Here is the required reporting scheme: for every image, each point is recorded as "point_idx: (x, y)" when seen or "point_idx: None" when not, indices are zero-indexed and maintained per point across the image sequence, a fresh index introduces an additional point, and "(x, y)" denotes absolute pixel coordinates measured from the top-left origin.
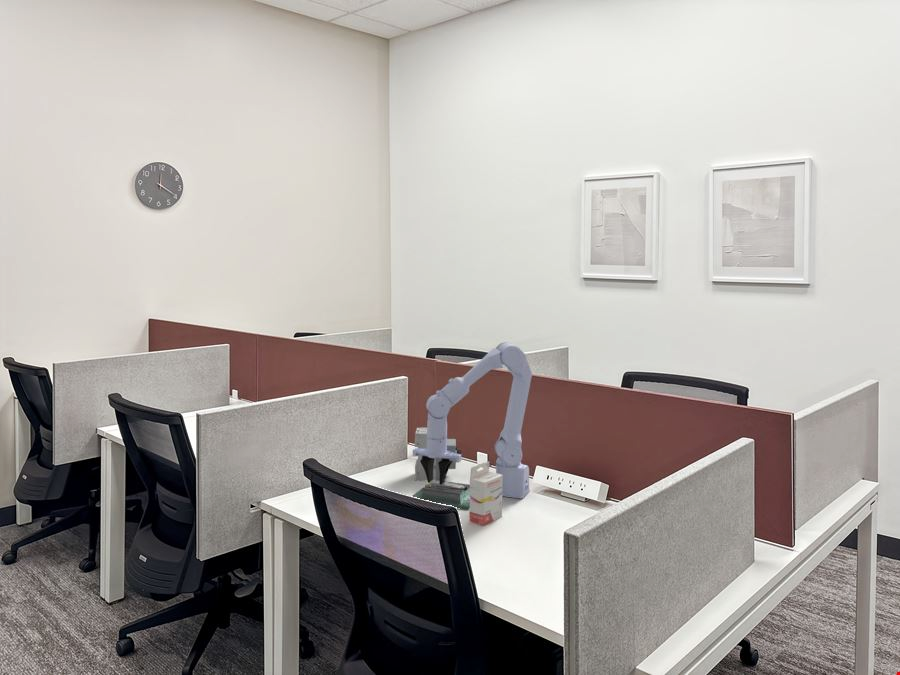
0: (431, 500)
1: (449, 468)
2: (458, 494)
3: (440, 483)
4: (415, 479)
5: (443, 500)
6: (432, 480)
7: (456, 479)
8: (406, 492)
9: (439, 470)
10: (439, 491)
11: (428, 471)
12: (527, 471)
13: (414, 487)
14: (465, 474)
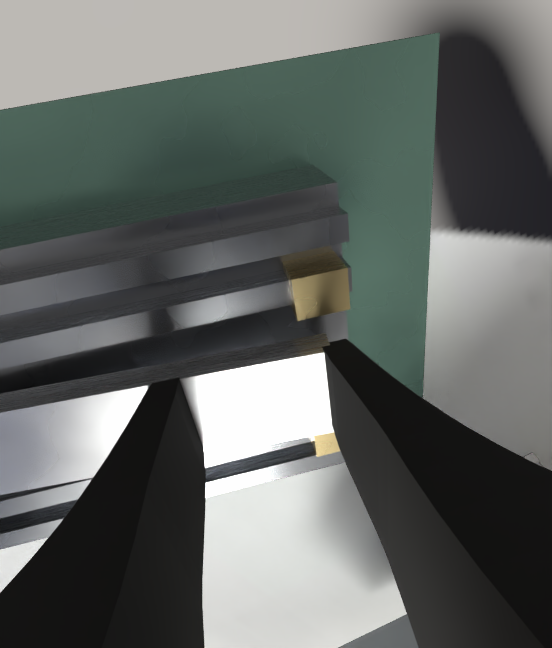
0: (149, 120)
1: (363, 640)
2: None
3: (163, 385)
4: (536, 460)
5: (30, 201)
6: (320, 404)
7: (311, 580)
8: (525, 254)
9: (122, 558)
10: (98, 257)
11: (392, 447)
12: None
13: (498, 369)
14: (308, 632)
